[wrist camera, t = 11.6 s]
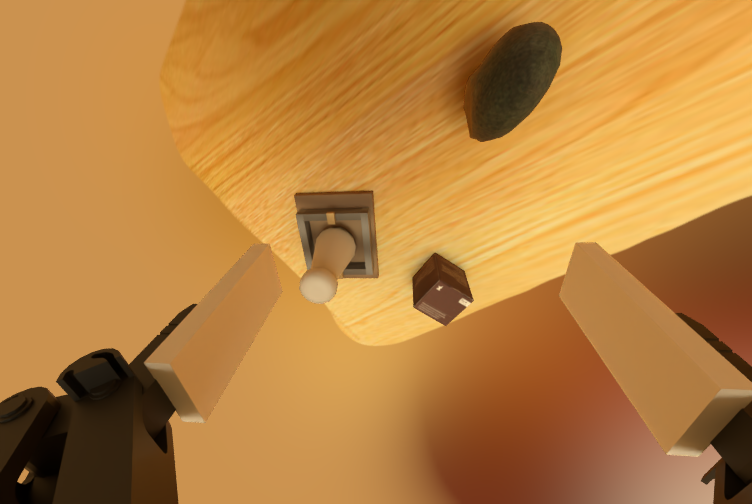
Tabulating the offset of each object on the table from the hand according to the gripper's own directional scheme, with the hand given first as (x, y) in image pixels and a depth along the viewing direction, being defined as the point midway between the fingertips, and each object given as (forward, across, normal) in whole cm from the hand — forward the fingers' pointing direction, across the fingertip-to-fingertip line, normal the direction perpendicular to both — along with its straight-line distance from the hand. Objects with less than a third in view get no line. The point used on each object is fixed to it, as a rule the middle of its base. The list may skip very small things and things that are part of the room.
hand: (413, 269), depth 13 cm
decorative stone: (+29, +8, +6) cm, 31 cm away
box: (+29, +4, -20) cm, 35 cm away
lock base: (+28, -11, -13) cm, 33 cm away
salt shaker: (+28, -11, -13) cm, 32 cm away
